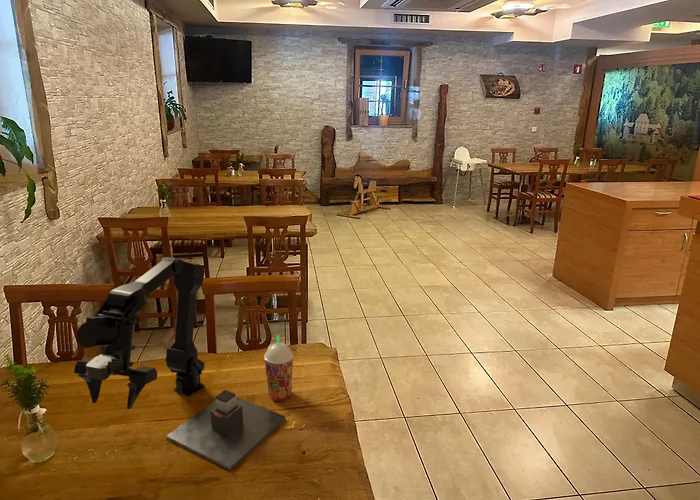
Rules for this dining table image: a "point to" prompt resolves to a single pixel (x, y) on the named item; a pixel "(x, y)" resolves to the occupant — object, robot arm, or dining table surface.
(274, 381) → the smoothie
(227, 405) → the column
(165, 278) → the robot arm
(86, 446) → the dining table surface
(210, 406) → the stand base
